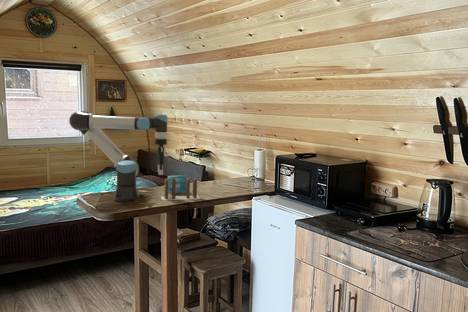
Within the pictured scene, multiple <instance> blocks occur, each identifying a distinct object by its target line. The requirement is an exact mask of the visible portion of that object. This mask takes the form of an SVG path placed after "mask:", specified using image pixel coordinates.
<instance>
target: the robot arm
mask: <svg viewBox="0 0 468 312" xmlns="http://www.w3.org/2000/svg"><path fill="white" fill-rule="evenodd" d="M68 122H69V125H70V127H71V128H72V129H74V130H76V131H79V132H80V133H81V134H83V136H86V137H88V138H89V139H90V140H91V141H92V142H93V143H94V144H95V145H96V147H98V148H99V149H100V150H101V151H102V152H103V154H105V156H107V158H108V159H109V160H110V161H111V162H112V163H113V164H114V169H115V170H116V188H115V191H114V194H113V200H114V201H117V202H134V201H135V200H138V199H139V198H140V194H139V192H138V189H137V176H138V175H139V172H140V166H139V163H138V162H137V161H136V160H134V159H132V157H131V156H130V155H129V154H125V153H124V152H123V151H122V150H121V149H120V148H119V147H118V145H116V144H115V143H114V142H113V141H112V140H111V139H110V138H109V136H107V134H106V133H105V132H104V131H103V130H102V129H107V130H109V129H110V130H111V129H113V130H139V131H147V130H155V131H154V137H155V140H154V143H155V145H158V146H157V174H158V176H159V175H162V176H163V175H164V164H165V163H164V157H165V147H164V146H166V145H167V144H168V139H167V138H168V136H167V135H169V133H168V115H167V114H155V117H150V116H137V117H134V116H113V115H110V116H109V115H94V114H92V113H91V112H89V111H87V110H81V111H80V110H79V111H75V112H73V113H71V115H70V117H69V120H68Z"/></svg>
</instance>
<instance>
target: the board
mask: <svg viewBox="0 0 468 312" xmlns="http://www.w3.org/2000/svg"><path fill="white" fill-rule="evenodd" d="M160 198H161V201H177V200H180V201H181V200H201V198H200V197H199V195H197V198H193V195H190V198H186V195H175V199H172V195H168V199H165V196H160Z"/></svg>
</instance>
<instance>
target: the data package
mask: <svg viewBox="0 0 468 312" xmlns="http://www.w3.org/2000/svg"><path fill="white" fill-rule="evenodd" d="M172 178H175V180H176V185H175V194H178V193H181V194H182V193H186V178H187V176H186V175H185V176H184V175H183V174H182V175H181V174H180V175H179V174H178V175H176V174H175V175H168V176H167V178H166V179H168V194H172Z"/></svg>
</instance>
